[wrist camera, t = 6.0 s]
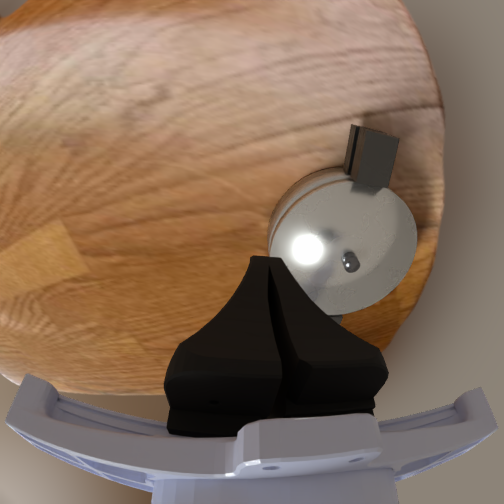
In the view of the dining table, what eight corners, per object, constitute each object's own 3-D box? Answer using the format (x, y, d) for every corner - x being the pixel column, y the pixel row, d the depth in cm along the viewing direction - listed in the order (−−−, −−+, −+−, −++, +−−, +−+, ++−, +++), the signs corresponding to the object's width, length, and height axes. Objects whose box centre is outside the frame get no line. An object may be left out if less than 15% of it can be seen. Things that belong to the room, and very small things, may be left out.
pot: (371, 303, 27) (380, 324, 25) (258, 298, 27) (259, 322, 24) (423, 142, 19) (444, 152, 16) (282, 111, 18) (287, 114, 15)
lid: (384, 309, 24) (390, 322, 23) (260, 305, 24) (261, 320, 22) (442, 151, 16) (456, 158, 15) (287, 114, 15) (290, 117, 14)
